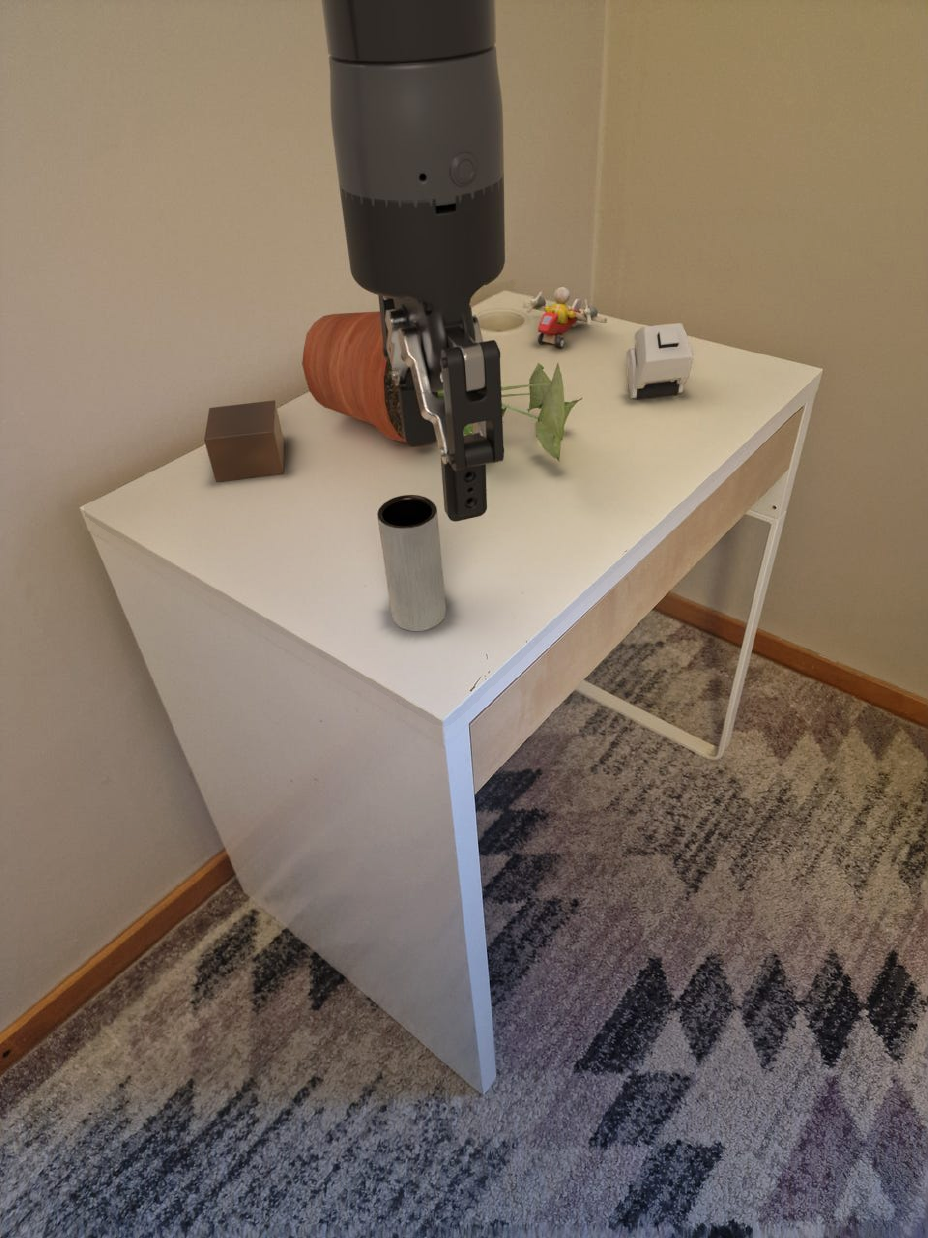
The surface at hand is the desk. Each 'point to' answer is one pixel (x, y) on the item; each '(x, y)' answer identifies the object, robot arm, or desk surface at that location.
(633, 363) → the white boxy gadget
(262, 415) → the block
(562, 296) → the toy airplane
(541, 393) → the potted plant
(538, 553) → the desk surface
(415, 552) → the grey cylindrical cup
